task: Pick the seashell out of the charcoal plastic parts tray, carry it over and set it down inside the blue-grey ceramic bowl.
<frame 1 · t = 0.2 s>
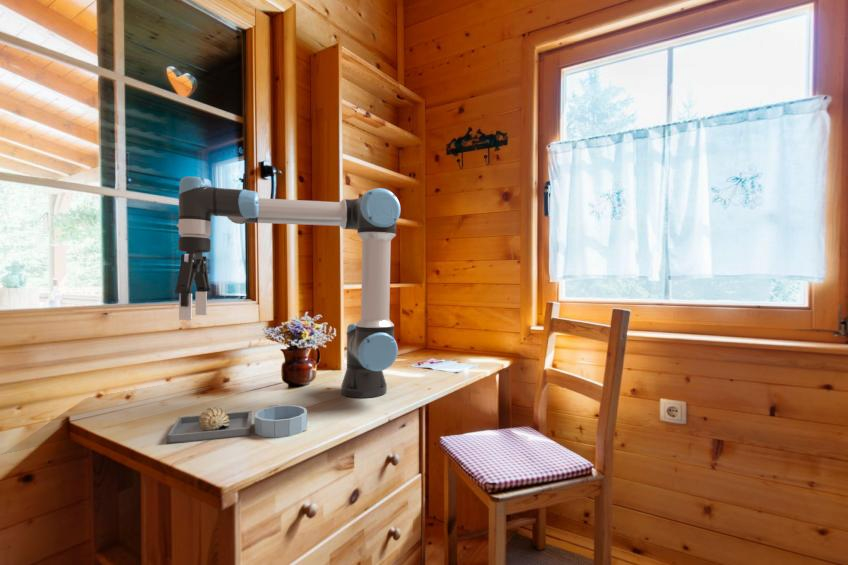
hand: (193, 317, 115), 27 cm above the table, fingers open, 13 cm apart
seashell: (212, 429, 108), resting on parts tray
parts tray: (212, 429, 108), on the table
bowl: (281, 428, 109), on the table
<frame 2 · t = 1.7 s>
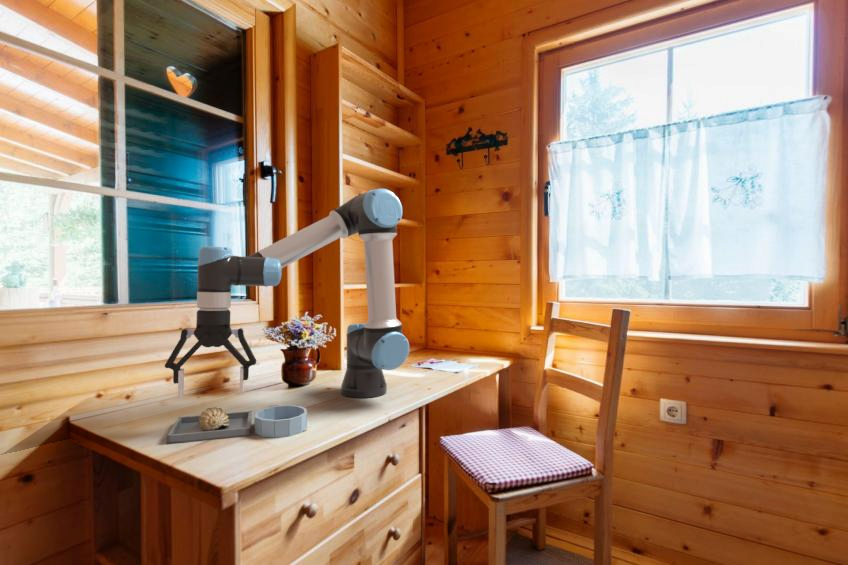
hand: (211, 394, 107), 9 cm above the table, fingers open, 13 cm apart
nothing on the table moved.
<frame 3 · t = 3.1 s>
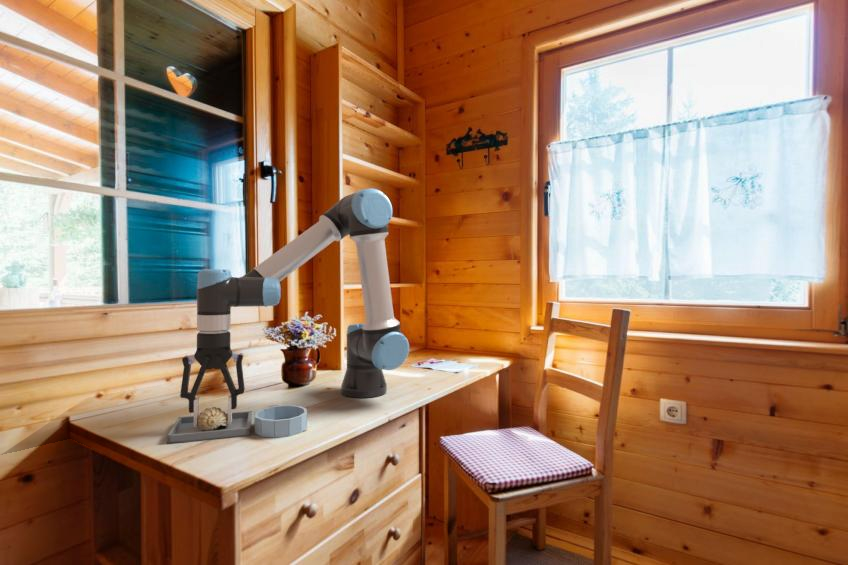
hand: (213, 423, 108), 2 cm above the table, fingers closed on seashell, 7 cm apart
seashell: (211, 428, 108), resting on parts tray, touching gripper
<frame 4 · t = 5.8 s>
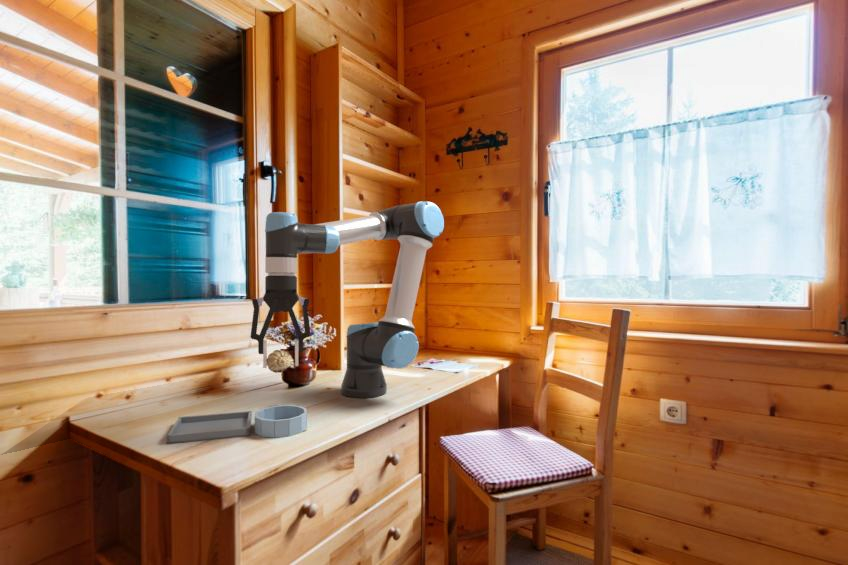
hand: (280, 365, 109), 16 cm above the table, fingers closed on seashell, 7 cm apart
seashell: (279, 371, 109), point 14 cm above the table, touching gripper
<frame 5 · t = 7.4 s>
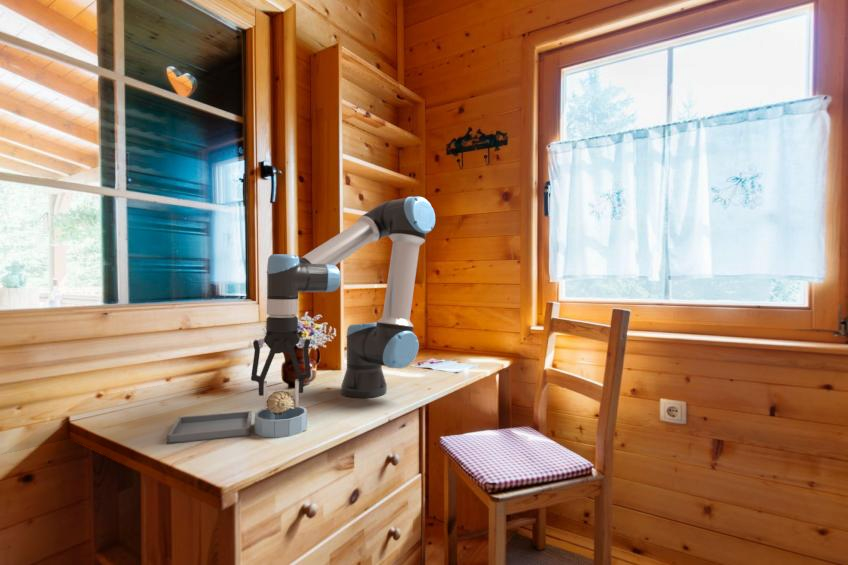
hand: (281, 406, 109), 5 cm above the table, fingers closed on seashell, 7 cm apart
seashell: (279, 412, 109), point 4 cm above the table, touching gripper
when the fingers open (5 cm above the table, at t = 8.3 s): seashell drops 2 cm, resting on bowl.
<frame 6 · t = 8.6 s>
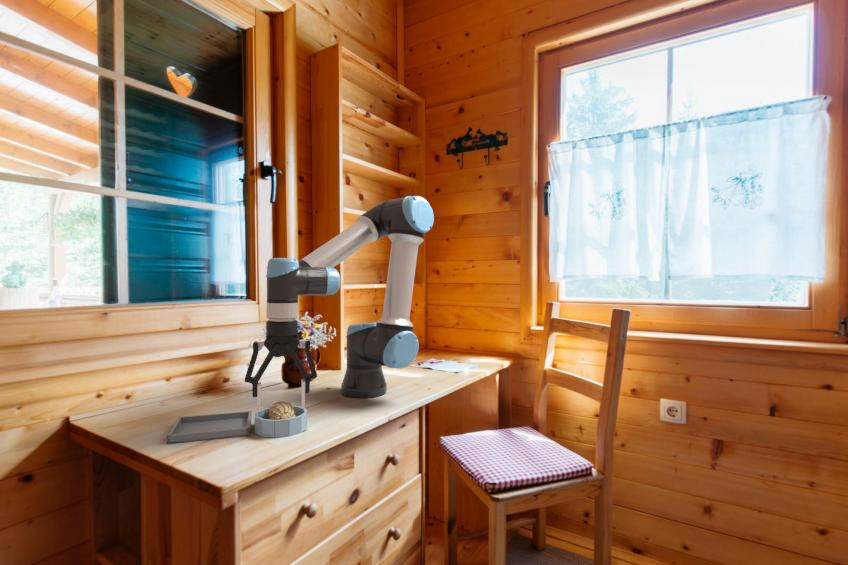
hand: (281, 407, 109), 5 cm above the table, fingers open, 10 cm apart
seashell: (278, 421, 110), point 2 cm above the table, touching bowl
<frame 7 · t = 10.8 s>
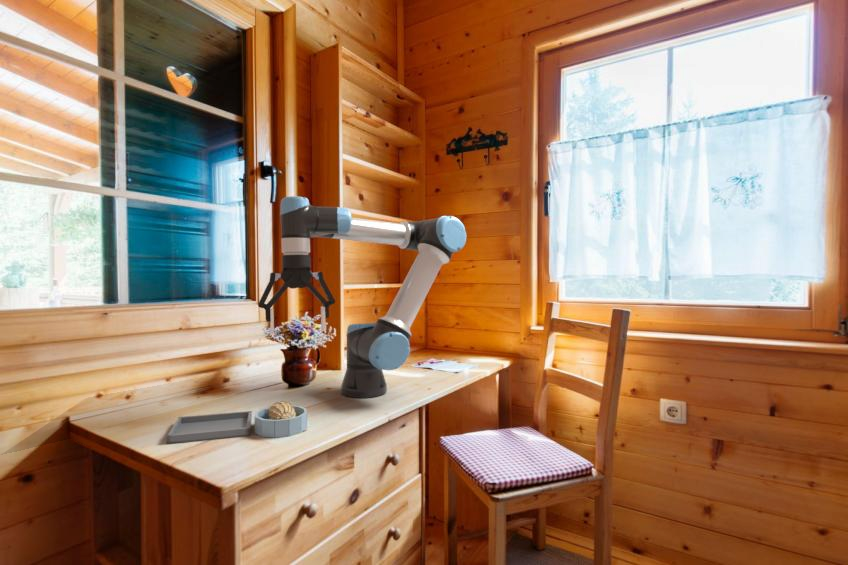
hand: (298, 331, 119), 23 cm above the table, fingers open, 13 cm apart
nothing on the table moved.
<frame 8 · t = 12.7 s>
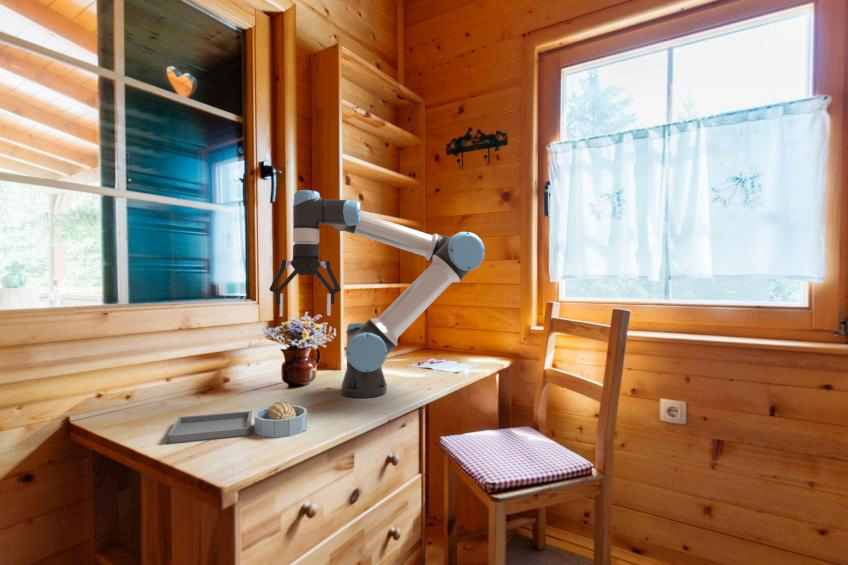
hand: (305, 315, 128), 27 cm above the table, fingers open, 13 cm apart
nothing on the table moved.
at the end: seashell 0.8 cm from the bowl (horizontally); seashell point 1.5 cm above the table; the gripper is holding nothing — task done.
